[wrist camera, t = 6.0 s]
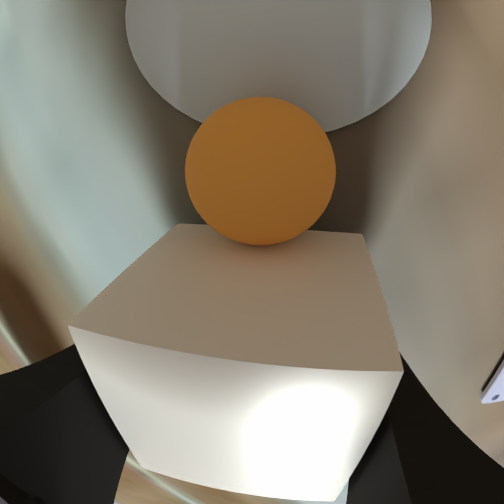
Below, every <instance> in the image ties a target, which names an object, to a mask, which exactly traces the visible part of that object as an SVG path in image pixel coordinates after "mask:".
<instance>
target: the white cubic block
mask: <svg viewBox="0 0 504 504" xmlns="http://www.w3.org/2000/svg"><path fill="white" fill-rule="evenodd" d="M68 328H69V330H70V333H71V335H72V338H73V340H74V343H75V345H76V348H77V350H78V352H79V355H80V357H81V359H82V361H83V363H84V366H85V368H86V370H87V372H88V374H89V376H90V378H91V381H92V383H93V385H94V387H95V389H96V391H97V393H98V395H99V396H100V398H101V400H102V402H103V404H104V406H105V408H106V410H107V411H108V413H109V415H110V417H111V419H112V420H113V422H114V424H115V426H116V427H117V429H118V431H119V432H120V434H121V436H122V437H123V439H124V441H125V442H126V444H127V445H128V447H129V449H130V450H131V452H132V453H133V455H134V456H135V458H136V459H137V461H138V462H139V464H140V465H141V467H142V468H144V469H147V470H150V471H153V472H156V473H160V474H163V475H166V476H169V477H173V478H176V479H180V480H184V481H187V482H191V483H195V484H199V485H203V486H208V487H212V488H217V489H222V490H227V491H232V492H238V493H244V494H250V495H257V496H264V497H273V498H282V499H293V500H308V501H335V499H336V498H337V496H338V495H339V493H340V492H341V490H342V489H343V487H344V486H345V484H346V483H347V481H348V479H349V478H350V476H351V475H352V473H353V471H354V470H355V468H356V466H357V465H358V463H359V461H360V460H361V458H362V456H363V454H364V453H365V451H366V449H367V447H368V445H369V444H370V442H371V440H372V438H373V436H374V434H375V432H376V431H377V429H378V427H379V425H380V423H381V421H382V419H383V417H384V415H385V413H386V411H387V409H388V406H389V404H390V402H391V400H392V398H393V396H394V393H395V391H396V389H397V387H398V384H399V382H400V380H401V377H402V375H403V373H404V369H403V365H402V361H401V357H400V353H399V349H398V345H397V341H396V338H395V334H394V330H393V327H392V323H391V320H390V316H389V313H388V310H387V306H386V303H385V300H384V296H383V293H382V290H381V287H380V284H379V281H378V278H377V275H376V272H375V269H374V266H373V263H372V260H371V257H370V254H369V251H368V249H367V246H366V243H365V240H364V238H363V235H362V234H356V233H342V232H328V231H313V230H306V231H304V232H303V233H302V234H300V235H298V236H296V237H294V238H292V239H290V240H287V241H284V242H281V243H277V244H272V245H250V244H245V243H240V242H237V241H234V240H231V239H229V238H227V237H225V236H223V235H221V234H220V233H218V232H217V231H215V230H214V229H213V228H212V227H210V226H209V225H202V224H177V225H176V226H175V227H173V228H172V229H171V230H170V231H169V232H167V233H166V234H165V235H164V236H163V237H162V238H161V239H159V240H158V241H157V242H156V243H155V244H154V245H152V246H151V247H150V248H149V249H148V250H147V251H146V252H145V253H143V254H142V255H141V256H140V257H139V258H138V259H137V260H136V261H134V262H133V263H132V264H131V265H130V266H129V267H128V268H127V269H126V270H125V271H123V272H122V273H121V274H120V275H119V276H118V277H117V278H116V279H115V280H114V281H113V282H112V283H110V284H109V285H108V286H107V287H106V288H105V289H104V290H103V291H102V292H101V293H100V294H99V295H98V296H97V297H96V298H95V299H94V300H93V301H92V302H90V303H89V304H88V305H87V306H86V307H85V308H84V309H83V310H82V311H81V312H80V313H79V314H78V315H77V316H76V317H75V318H74V319H73V320H72V321H71V322H70V323H69V324H68Z"/></svg>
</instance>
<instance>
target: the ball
mask: <svg viewBox="0 0 504 504" xmlns="http://www.w3.org/2000/svg"><path fill="white" fill-rule="evenodd" d="M335 179H336V163H335V158H334V152H333V149H332V146H331V143H330V141H329V139H328V137H327V135H326V134H325V132H324V130H323V129H322V128H321V126H320V125H319V124H318V123H317V121H316V120H315V119H314V118H313V117H311V116H310V115H309V114H308V113H307V112H305V111H304V110H302V109H301V108H299V107H298V106H296V105H294V104H291V103H289V102H287V101H284V100H280V99H276V98H271V97H250V98H244V99H240V100H236V101H233V102H231V103H229V104H227V105H225V106H223V107H221V108H219V109H218V110H216V111H215V112H214V113H212V114H211V115H210V116H209V117H208V118H207V119H206V120H205V121H204V122H203V123H202V124H201V125H200V127H199V128H198V130H197V131H196V133H195V135H194V136H193V138H192V141H191V143H190V145H189V148H188V152H187V155H186V163H185V180H186V185H187V190H188V193H189V196H190V199H191V201H192V203H193V205H194V207H195V209H196V210H197V212H198V213H199V215H200V216H201V217H202V218H203V220H204V221H205V222H206V223H207V224H208V225H209V226H210V227H212V228H213V229H214V230H215V231H217V232H218V233H220V234H221V235H223V236H225V237H227V238H229V239H231V240H234V241H237V242H240V243H245V244H250V245H272V244H277V243H281V242H284V241H287V240H290V239H292V238H294V237H296V236H298V235H300V234H302V233H303V232H304V231H306V230H307V229H308V228H310V227H311V226H312V225H313V224H314V223H315V222H316V221H317V220H318V218H319V217H320V216H321V215H322V214H323V212H324V211H325V209H326V207H327V205H328V203H329V201H330V199H331V196H332V193H333V190H334V186H335Z"/></svg>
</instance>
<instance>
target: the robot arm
mask: <svg viewBox="0 0 504 504" xmlns="http://www.w3.org/2000/svg"><path fill="white" fill-rule="evenodd" d="M399 353H400V352H399ZM400 357H401V361H402V365H403V369H404V373H403V375H402V377H401V380H400V382H399V384H398V387H397V389H396V391H395V393H394V396H393V398H392V400H391V402H390V404H389V406H388V409H387V411H386V413H385V415H384V417H383V419H382V421H381V423H380V425H379V427H378V429H377V431H376V432H375V434H374V436H373V438H372V440H371V442H370V444H369V445H368V447H367V449H366V451H365V453H364V454H363V456H362V458H361V460H360V461H359V463H358V465H357V466H356V468H355V470H354V471H353V473H352V475H351V476H350V478H349V484H348V494H347V502H346V504H504V468H503V467H502V466H501V465H499V464H498V463H497V462H496V461H494V460H493V459H492V458H490V457H489V456H488V455H487V454H486V453H485V452H483V451H482V450H481V449H480V448H479V447H478V446H477V445H476V444H475V443H474V442H472V441H471V440H470V439H469V438H468V437H467V436H466V435H465V434H464V433H463V432H462V431H461V430H460V429H459V428H458V427H457V426H456V425H455V424H454V423H453V422H452V421H451V419H450V418H449V417H448V416H447V415H446V414H445V413H444V412H443V410H442V409H441V408H440V407H439V406H438V405H437V403H436V402H435V401H434V400H433V398H432V397H431V396H430V395H429V393H428V392H427V391H426V389H425V388H424V387H423V385H422V384H421V383H420V381H419V380H418V378H417V377H416V376H415V374H414V373H413V371H412V370H411V368H410V367H409V365H408V364H407V363H406V361H405V360H404V358H403V357H402V355H401V354H400ZM480 399H481V402H482V403H492V402H498V401H503V400H504V360H503V361H502V363H501V365H500V366H499V368H498V370H497V371H496V373H495V374H494V376H493V378H492V379H491V381H490V382H489V384H488V385H487V387H486V388H485V390H484V391H483V393H482V394H481V396H480ZM128 451H129V447H128V445H127V444H126V442H125V441H124V439H123V437H122V436H121V434H120V432H119V431H118V429H117V427H116V426H115V424H114V422H113V420H112V419H111V417H110V415H109V413H108V411H107V410H106V408H105V406H104V404H103V402H102V400H101V398H100V396H99V395H98V393H97V391H96V389H95V387H94V385H93V383H92V381H91V378H90V376H89V374H88V372H87V370H86V368H85V366H84V363H83V361H82V359H81V357H80V355H79V352H78V350H77V348H76V345H75V344H73V345H72V346H70V347H68V348H66V349H64V350H62V351H60V352H58V353H56V354H54V355H52V356H50V357H48V358H46V359H43V360H41V361H39V362H36V363H34V364H31V365H28V366H26V367H23V368H20V369H18V370H15V371H12V372H8V373H5V374H2V375H0V504H114V499H115V495H116V491H117V487H118V483H119V480H120V476H121V473H122V470H123V466H124V463H125V460H126V457H127V454H128Z"/></svg>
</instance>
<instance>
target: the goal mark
mask: <svg viewBox="0 0 504 504" xmlns="http://www.w3.org/2000/svg"><path fill="white" fill-rule="evenodd" d="M125 23H126V33H127V38H128V43H129V46H130V49H131V52H132V55H133V58H134V60H135V62H136V64H137V66H138V68H139V69H140V71H141V73H142V74H143V76H144V77H145V79H146V80H147V81H148V83H149V84H150V85H151V87H152V88H153V89H154V90H155V91H156V92H157V93H158V94H159V95H160V96H161V97H162V98H163V99H164V100H166V101H167V102H168V103H170V104H171V105H172V106H173V107H175V108H176V109H177V110H179V111H181V112H182V113H184V114H186V115H187V116H189V117H191V118H192V119H194V120H197V121H199V122H201V123H203V122H204V121H205V120H206V119H207V118H208V117H209V116H210V115H211V114H212V113H214V112H215V111H216V110H218V109H219V108H221V107H223V106H225V105H227V104H229V103H231V102H233V101H236V100H240V99H244V98H250V97H271V98H276V99H280V100H284V101H287V102H289V103H291V104H294V105H296V106H298V107H299V108H301V109H302V110H304V111H305V112H307V113H308V114H309V115H310V116H311V117H313V118H314V119H315V120H316V121H317V123H318V124H319V125H320V126H321V128H322V129H323V130H324V132H328V131H332V130H336V129H339V128H341V127H344V126H347V125H349V124H352V123H354V122H357V121H359V120H360V119H362V118H364V117H366V116H368V115H370V114H372V113H374V112H375V111H377V110H378V109H379V108H381V107H382V106H383V105H385V104H386V103H388V102H389V101H390V100H391V99H392V98H394V97H395V96H396V95H397V94H398V93H399V92H400V91H401V90H402V89H403V88H404V87H405V86H406V84H407V83H408V82H409V80H410V79H411V78H412V76H413V75H414V74H415V72H416V70H417V69H418V67H419V65H420V63H421V61H422V59H423V57H424V55H425V52H426V48H427V45H428V42H429V38H430V32H431V24H432V14H431V2H430V0H127V2H126V10H125Z"/></svg>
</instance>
